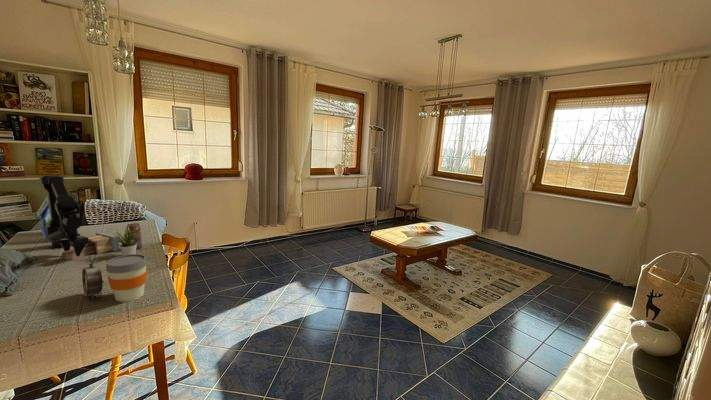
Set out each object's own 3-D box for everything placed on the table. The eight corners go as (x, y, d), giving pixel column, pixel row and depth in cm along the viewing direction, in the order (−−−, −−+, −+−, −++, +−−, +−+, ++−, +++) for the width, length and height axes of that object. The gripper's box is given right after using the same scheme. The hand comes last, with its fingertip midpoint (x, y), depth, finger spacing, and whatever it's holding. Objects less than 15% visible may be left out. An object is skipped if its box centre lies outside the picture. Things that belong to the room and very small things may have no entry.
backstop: (97, 246, 164) (95, 232, 162) (101, 245, 166) (99, 232, 164) (115, 251, 158) (113, 237, 157) (119, 250, 160) (118, 236, 159)
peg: (62, 259, 145) (61, 252, 144) (95, 250, 159) (94, 243, 159) (68, 261, 144) (67, 253, 143) (101, 251, 159) (100, 244, 158)
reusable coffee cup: (117, 307, 106) (113, 269, 104) (103, 297, 113) (99, 260, 110) (155, 294, 117) (152, 258, 114) (140, 285, 123) (138, 251, 121)
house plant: (154, 254, 156) (151, 225, 154) (124, 263, 144) (121, 231, 141) (138, 249, 162) (135, 221, 159) (108, 257, 150) (105, 226, 147)
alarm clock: (83, 293, 115) (78, 254, 112) (101, 289, 119) (96, 251, 116) (87, 304, 108) (82, 262, 105) (106, 299, 112) (102, 258, 109)
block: (85, 250, 157) (84, 237, 156) (100, 246, 163) (98, 234, 162) (98, 253, 153) (96, 241, 152) (112, 250, 159) (110, 237, 158)
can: (135, 250, 160) (132, 226, 158) (125, 249, 162) (123, 225, 159) (144, 247, 166) (143, 223, 164) (135, 246, 167) (133, 222, 165)
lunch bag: (37, 235, 177) (31, 192, 173) (75, 230, 190) (70, 190, 185) (39, 244, 163) (33, 198, 159) (80, 238, 176) (75, 195, 171)
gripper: (36, 225, 140) (40, 256, 143) (58, 231, 134) (62, 263, 137) (65, 220, 151) (69, 249, 153) (87, 226, 144) (91, 255, 147)
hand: (72, 254), depth 147 cm, fingers open, 9 cm apart
